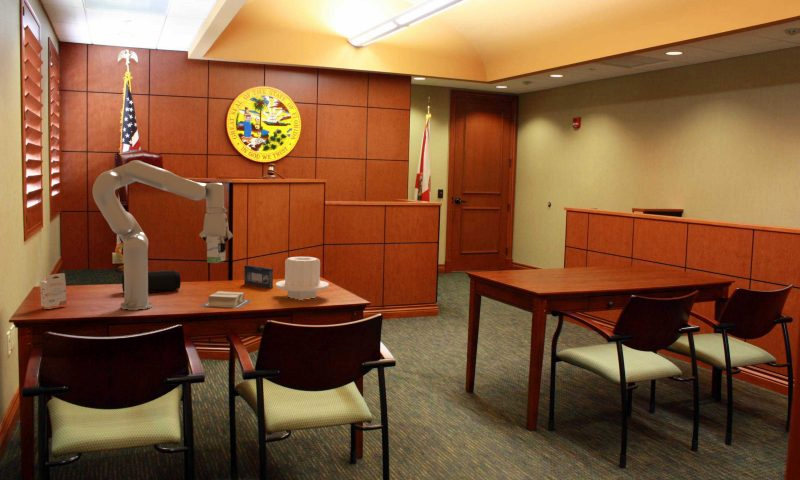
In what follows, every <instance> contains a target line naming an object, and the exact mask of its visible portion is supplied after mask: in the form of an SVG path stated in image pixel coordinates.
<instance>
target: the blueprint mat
mask: <svg viewBox="0 0 800 480" xmlns="http://www.w3.org/2000/svg"><path fill="white" fill-rule="evenodd" d="M251 302H253V300H252V299H244V302H242V303H240V304H239V305H237V306H235V307H232V306H215V305H209V300H208V301H207V302H204V303H203V304H201V305H200V307H205V308H206V307H208V308H221V309H224V308H225V309H241V308H242V307H245V306H246V305H248V304H249V303H251Z"/></svg>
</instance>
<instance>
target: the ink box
mask: <svg viewBox="0 0 800 480" xmlns="http://www.w3.org/2000/svg"><path fill="white" fill-rule="evenodd" d="M206 237H207V243H206V263H211V264H218V263H221V262H224V261H226V251H225V252H221V243H222V241H221V238H220V237H219V236H206Z"/></svg>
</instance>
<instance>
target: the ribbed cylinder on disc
mask: <svg viewBox="0 0 800 480" xmlns="http://www.w3.org/2000/svg"><path fill="white" fill-rule="evenodd" d="M284 271H285V272H284V280H279V281H277V282H276V283H275V288H277V289H279V290H283V291H287V298H288V297H290V298H289V299H292V298H295V299H294V300H296V299H299V300H298V301H300V300H302V299H307V298H313V297H317V295H318V294H317V291H323V290H326V289H328V288H329V286H330V283H328V282H327V281H323V280H321V260H320V258H317V257H313V256H291V257H287V258H286V259H285V261H284ZM302 301H303V300H302Z"/></svg>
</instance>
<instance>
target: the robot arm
mask: <svg viewBox="0 0 800 480" xmlns="http://www.w3.org/2000/svg"><path fill="white" fill-rule="evenodd" d="M135 182H137V183H141V184H144V185H147V186H151V187H153V188H156V189H159V190H162V191H165V192H168V193H171V194H175V195H176V196H181V197H184V198H186V199H189V200H193V201H202V200H203V199H206V200H205V201H206V213H205V214H204V220H203V229H202V231H201V232H200V233H199V234H198V236H199V237H201V239H203V241H204V242H205V243H206V244H207V236H219V237H220V238H221V241H222V243H221V252H225V253H226V250H227V244H226V243H227V242H229V240H230V239H232V238H233V236H234V235H233V233H232V232H231V230H229V220H228V216H227V212H228V208H226V207H225V187H224V184H223V183H222V182H208V183H206V182H198V181H193V180H190V179H187V178H184V177H182V176H179V175H178V174H175V173H173V172H172V171H169V170H167V169H164V168H161V167H159V166H155V165H152V164H149V163H146V162H144V161H142V160H138V159H135V160H131V161H129V162H127V163H125V164H123V165H119V166H117V167H115V168H112V169H109V170H104V172H102V173H100V174H99V175H98V176H97V177H96V179H95V180H94V183H93V185H92V197H93V200H94V203H95V204H96V206H97V208H98V209H99V211H100V212H101V214H102V216H103V217H104V219H105V221H106V222H107V224H108V225H109V227H110V229H111V230H112V232H113V233H114V234H117V235H118V237H119V238H120V240H121V241H122V243H123V245H122V249H123V250H122V252H123V254H122V255H123V274H124V292H123V293H124V296H123V297H124V301H123V302H121V303H120V309H121V308H123V309H122V310H124V309H128V310H127V311H139V310H138V309H143V310H147V308H148V309H151V308H153V304H152V303H151V302H149V292H148V272H149V266H148V265H149V264H148V262H149V259H148V258H149V257H148V253H149V252H148V250H149V249H148V248H149V239H148V237H147V235H146V234H145V231H143V229H142V228H141V226H140V224H139V223H138V222H137V220H136V218H135V217H134V216H133V214H131V213H130V212H128V211H126V209H125V208H124V206H123V205H122V202H121V201H120V200H119V199H118V197H117V194H116V191H117V190H118V189H120V188H123V187H125V186H128V185H130V184H133V183H135Z"/></svg>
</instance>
